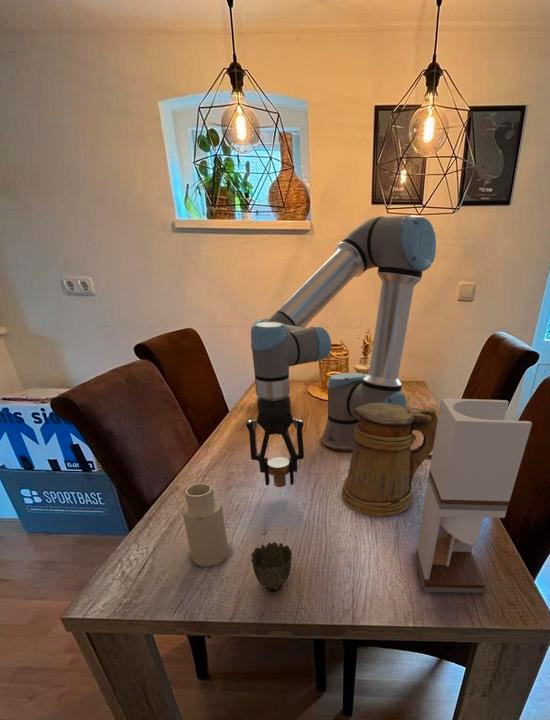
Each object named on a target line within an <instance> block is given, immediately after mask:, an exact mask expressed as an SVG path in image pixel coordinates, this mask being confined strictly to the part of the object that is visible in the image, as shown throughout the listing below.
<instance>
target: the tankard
mask: <svg viewBox="0 0 550 720" xmlns="http://www.w3.org/2000/svg"><path fill="white" fill-rule="evenodd" d="M354 413H356V414H357V415H359V416H360V421H359V423H358V424H357V425H356V428H355V432H354V439H355V444H354V449H353V451H352V453H351V459H350V463H349V467H348V472H347V476H346V477H345V479H344V480H343V485H342V488H341V493H340V496H341V499H342V501H343V503H344V504H345V505H346V506H347V507H348V508H350V510H353V511H354V512H356V513H360V514H362V515H365V516H371V517H388V516H394V515H399V514H401V513H402V512H405V511H406V510H407V509H408V508H409V507H410V506H411V503H412V499H413V497H414V492H413V490H414V489H413V485H412V483H413V479H414V476H415V474H416V472H417V470H418V469H419V467H420V466H421V465H422V463H423V462H424V461H425V460H427V458H429V457H428V455H431V454H432V452H433V446H434V440H435V434H436V427H437V421H438V416H437V415H438V414H436V413H437V410H436V409H435V408H433V407H429V408H419V407H418V408H416V407H409V406H406V407H405V406H401V405H395V404H387V403H369V404H366V405H363V406H360V407H357V408H356V409H355V410H354ZM413 431H416V432H417V431H418V432H420V433H421V434H422V435H423V438H422V439H423V441H422V443H421V445H420V446H418V447H417V448H413V449H411V448H412V446H413V445H414V442H415V441H416V440H417V436H416V435H415V434H414V433H413Z"/></svg>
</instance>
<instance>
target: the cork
mask: <svg viewBox="0 0 550 720" xmlns="http://www.w3.org/2000/svg"><path fill="white" fill-rule="evenodd" d="M267 467H268V473H269V476H272V477H273V485H274V487H275V488H276V487H277V488H284V487H286V485H287V480H286V475H289V474H290V469H289V459H288V458H286V457H282V456H276V457H272V458H270V459H268V462H267Z"/></svg>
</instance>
